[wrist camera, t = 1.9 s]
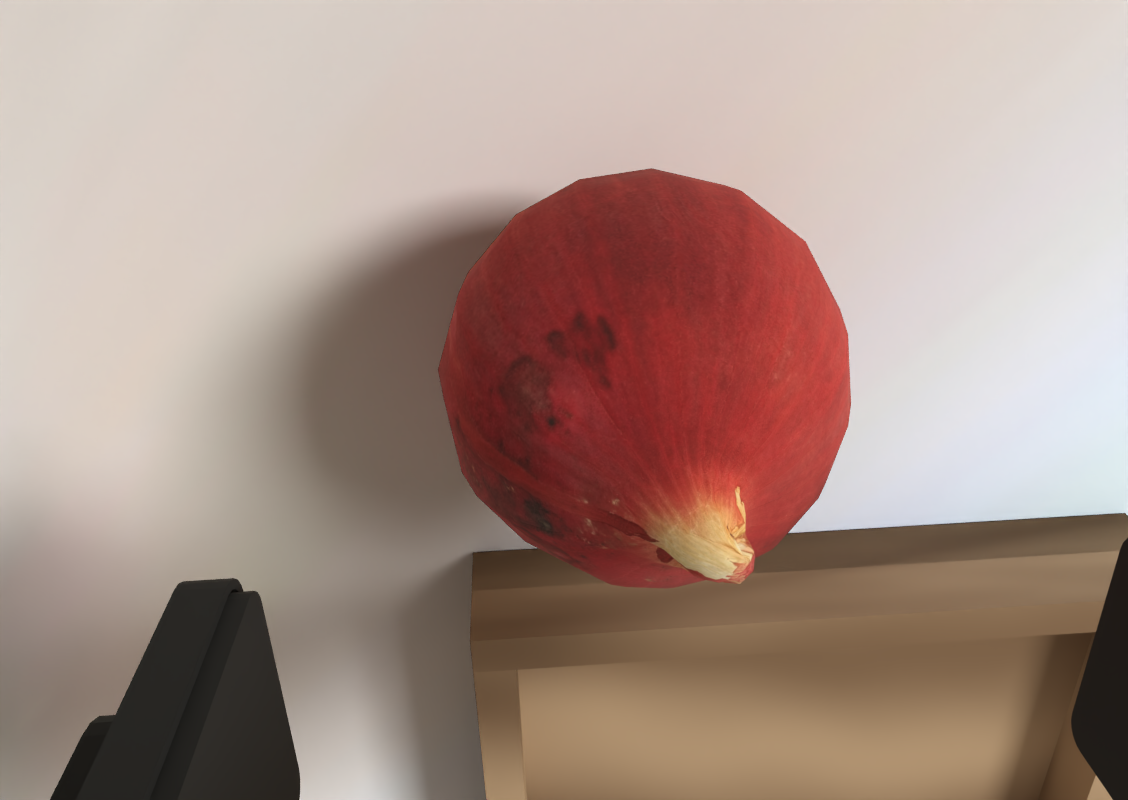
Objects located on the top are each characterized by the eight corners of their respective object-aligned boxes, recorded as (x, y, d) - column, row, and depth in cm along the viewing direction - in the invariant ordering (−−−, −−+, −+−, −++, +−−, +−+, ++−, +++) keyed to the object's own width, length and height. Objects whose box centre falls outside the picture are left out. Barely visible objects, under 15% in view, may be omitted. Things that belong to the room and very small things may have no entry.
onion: (489, 440, 19) (486, 786, 12) (417, 151, 16) (355, 386, 9) (785, 387, 19) (957, 707, 12) (765, 85, 16) (978, 270, 9)
